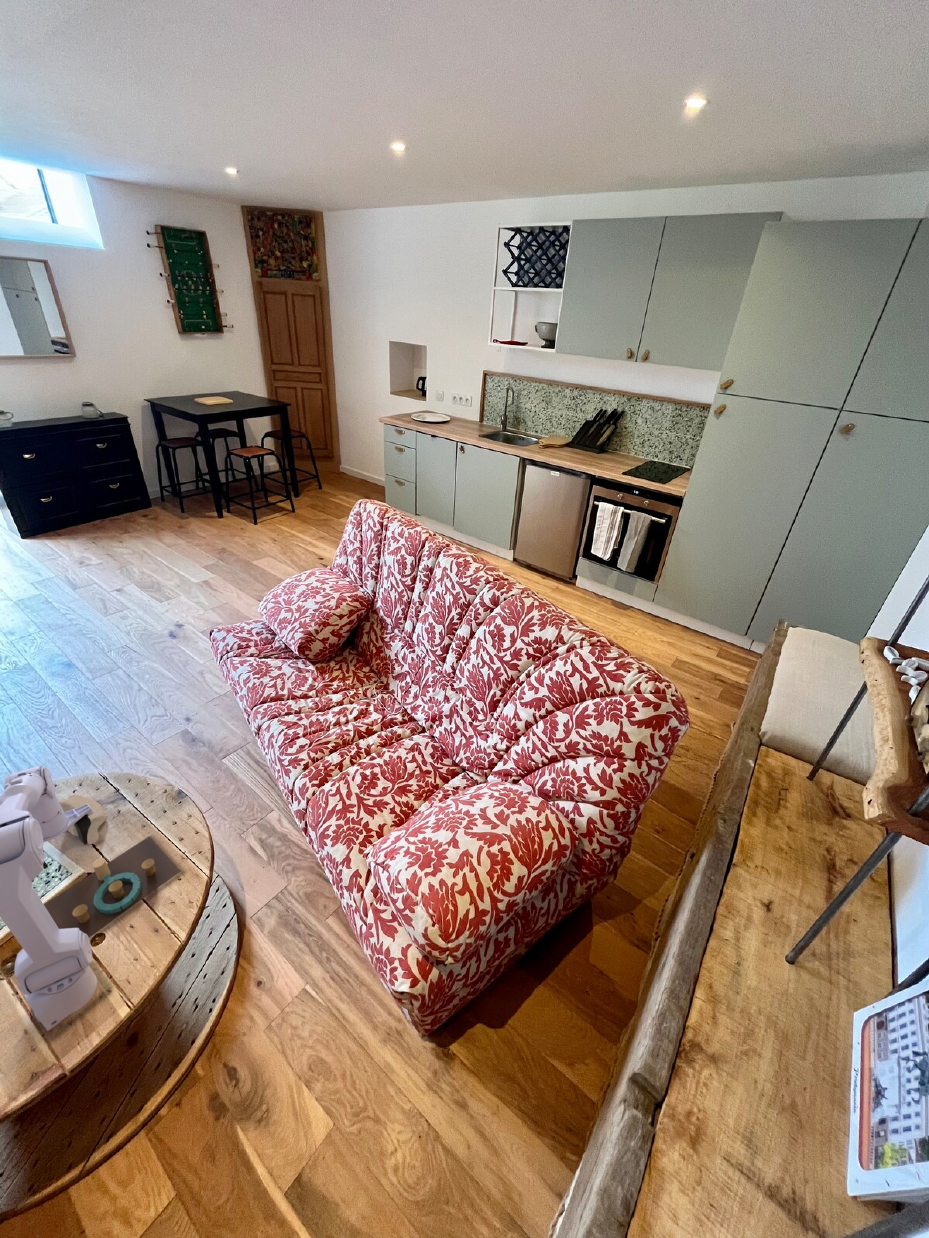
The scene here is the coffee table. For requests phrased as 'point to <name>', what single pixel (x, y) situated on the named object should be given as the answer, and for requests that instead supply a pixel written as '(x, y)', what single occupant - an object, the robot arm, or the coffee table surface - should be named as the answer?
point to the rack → (112, 888)
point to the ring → (104, 874)
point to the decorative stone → (96, 818)
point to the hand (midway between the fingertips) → (64, 853)
